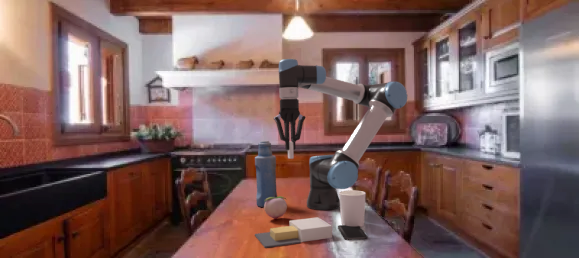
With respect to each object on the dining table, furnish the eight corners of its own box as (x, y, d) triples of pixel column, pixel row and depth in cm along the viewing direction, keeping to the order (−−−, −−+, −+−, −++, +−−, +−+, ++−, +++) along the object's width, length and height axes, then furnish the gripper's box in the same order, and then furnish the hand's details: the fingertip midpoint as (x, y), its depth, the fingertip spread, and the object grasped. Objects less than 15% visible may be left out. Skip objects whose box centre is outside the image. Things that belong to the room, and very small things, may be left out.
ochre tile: (292, 232, 134) (292, 225, 134) (298, 237, 128) (298, 230, 128) (270, 235, 131) (269, 228, 131) (275, 240, 126) (274, 233, 126)
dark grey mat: (287, 231, 138) (287, 229, 138) (300, 243, 124) (300, 241, 124) (254, 235, 134) (254, 233, 134) (264, 247, 121) (264, 246, 120)
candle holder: (357, 220, 150) (356, 189, 149) (371, 226, 141) (370, 193, 140) (334, 223, 146) (334, 191, 146) (347, 229, 137) (347, 196, 137)
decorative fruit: (271, 223, 148) (270, 197, 148) (261, 219, 155) (260, 194, 155) (291, 219, 153) (291, 194, 153) (281, 215, 160) (281, 191, 160)
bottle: (280, 206, 177) (278, 141, 176) (259, 208, 173) (257, 142, 172) (273, 202, 186) (271, 140, 185) (253, 204, 182) (251, 141, 181)
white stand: (318, 228, 140) (318, 217, 140) (332, 237, 129) (331, 225, 129) (289, 231, 137) (289, 220, 137) (301, 241, 125) (301, 229, 125)
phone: (344, 238, 126) (337, 225, 141) (344, 241, 126) (337, 228, 141) (368, 237, 126) (358, 224, 141) (368, 240, 126) (358, 227, 141)
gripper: (276, 98, 147) (277, 160, 148) (307, 98, 151) (309, 158, 152) (270, 99, 154) (272, 158, 155) (301, 99, 158) (302, 156, 159)
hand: (290, 158), depth 153 cm, fingers closed
